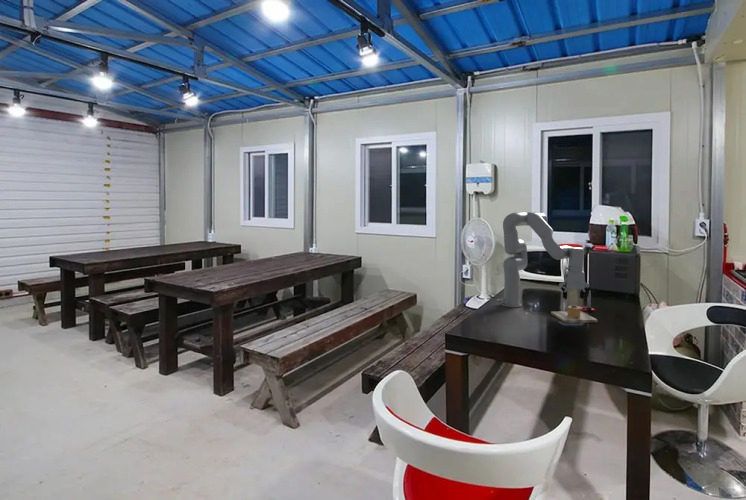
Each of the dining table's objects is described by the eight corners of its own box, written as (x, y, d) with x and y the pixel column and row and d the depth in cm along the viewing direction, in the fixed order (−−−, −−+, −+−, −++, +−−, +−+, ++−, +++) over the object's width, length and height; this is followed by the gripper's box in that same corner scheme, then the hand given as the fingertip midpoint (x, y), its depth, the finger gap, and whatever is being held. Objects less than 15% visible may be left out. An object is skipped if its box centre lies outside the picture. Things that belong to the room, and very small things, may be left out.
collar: (571, 317, 240) (571, 308, 239) (565, 314, 246) (565, 305, 245) (582, 316, 240) (582, 308, 239) (576, 313, 246) (577, 305, 246)
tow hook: (577, 308, 266) (582, 311, 256) (577, 288, 265) (582, 290, 255) (591, 308, 264) (596, 312, 255) (592, 288, 263) (597, 291, 254)
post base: (565, 322, 234) (565, 309, 233) (550, 314, 252) (551, 301, 251) (597, 322, 234) (598, 309, 233) (580, 313, 252) (581, 301, 251)
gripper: (563, 270, 236) (561, 300, 238) (593, 270, 236) (591, 300, 239) (557, 267, 243) (555, 296, 246) (586, 267, 244) (584, 296, 246)
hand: (573, 298), depth 242 cm, fingers open, 9 cm apart
